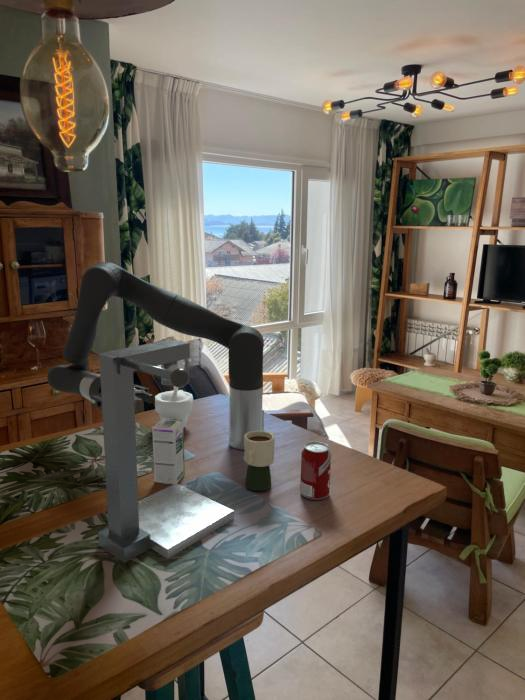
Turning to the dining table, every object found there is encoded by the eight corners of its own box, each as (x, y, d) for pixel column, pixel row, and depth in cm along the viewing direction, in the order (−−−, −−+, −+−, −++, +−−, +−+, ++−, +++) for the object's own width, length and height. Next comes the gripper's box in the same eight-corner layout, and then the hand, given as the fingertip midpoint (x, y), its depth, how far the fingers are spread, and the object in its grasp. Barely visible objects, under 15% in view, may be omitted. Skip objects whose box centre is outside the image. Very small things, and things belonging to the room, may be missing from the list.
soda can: (310, 504, 116) (312, 454, 113) (294, 491, 122) (296, 443, 119) (334, 498, 119) (337, 449, 116) (318, 485, 125) (320, 438, 122)
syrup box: (176, 485, 123) (175, 428, 120) (153, 482, 124) (151, 425, 121) (185, 474, 129) (184, 419, 125) (162, 471, 130) (161, 417, 126)
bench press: (176, 490, 120) (173, 328, 112) (267, 535, 104) (271, 348, 95) (84, 535, 102) (71, 345, 94) (175, 598, 86) (171, 374, 77)
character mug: (254, 474, 129) (254, 425, 126) (280, 480, 127) (282, 430, 124) (234, 494, 120) (235, 441, 117) (262, 501, 117) (264, 447, 114)
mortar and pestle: (201, 425, 161) (200, 346, 155) (176, 437, 151) (174, 354, 145) (170, 416, 167) (169, 341, 161) (144, 427, 158) (141, 347, 152)
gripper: (75, 381, 133) (113, 395, 123) (122, 370, 144) (160, 382, 134) (77, 408, 135) (114, 425, 125) (123, 396, 146) (160, 410, 136)
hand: (138, 403), depth 129 cm, fingers open, 8 cm apart
